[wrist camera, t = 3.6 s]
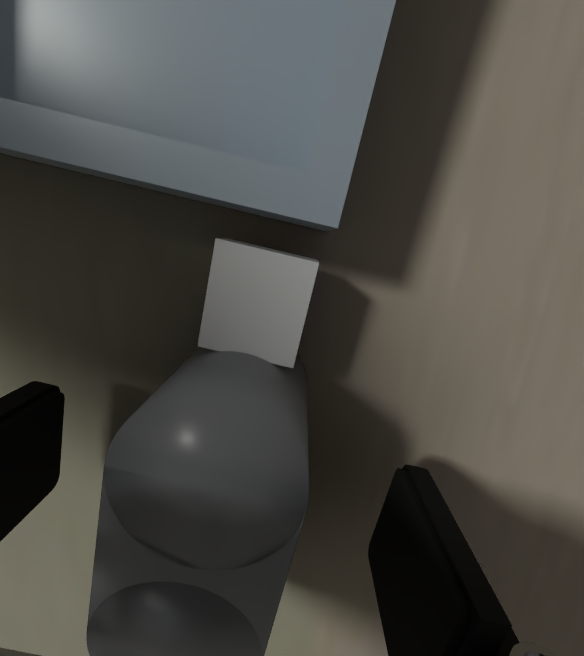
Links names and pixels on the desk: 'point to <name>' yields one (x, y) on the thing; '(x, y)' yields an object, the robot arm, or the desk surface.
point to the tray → (196, 96)
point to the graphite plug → (211, 475)
